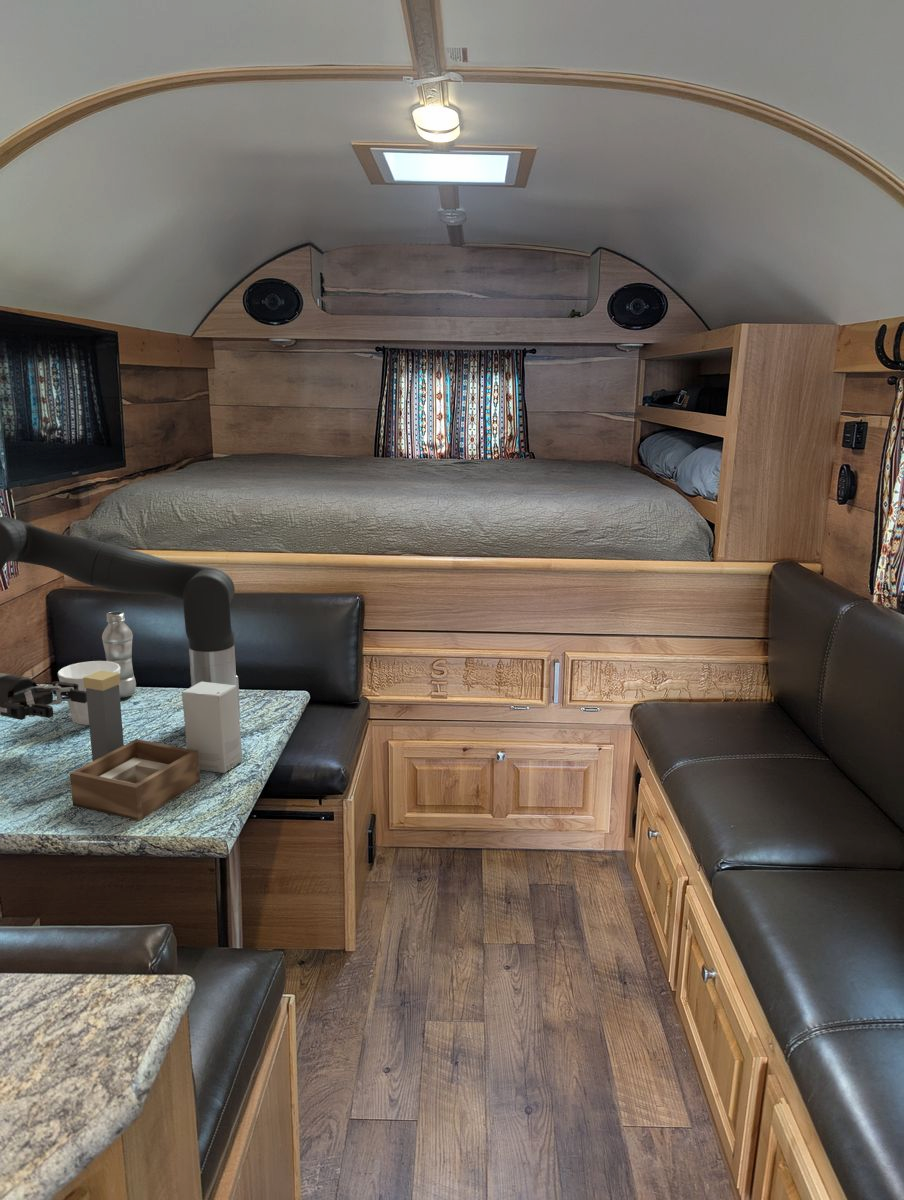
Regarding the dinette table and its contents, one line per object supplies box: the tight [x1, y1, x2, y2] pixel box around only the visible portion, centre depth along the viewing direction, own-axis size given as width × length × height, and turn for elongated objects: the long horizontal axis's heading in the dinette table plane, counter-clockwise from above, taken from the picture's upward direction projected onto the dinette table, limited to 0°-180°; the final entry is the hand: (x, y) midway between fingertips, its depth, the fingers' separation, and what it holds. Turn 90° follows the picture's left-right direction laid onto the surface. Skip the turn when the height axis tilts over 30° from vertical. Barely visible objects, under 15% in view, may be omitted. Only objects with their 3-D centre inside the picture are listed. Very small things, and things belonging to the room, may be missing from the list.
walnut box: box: [69, 739, 201, 822], centre depth 147 cm, size 16×14×6 cm
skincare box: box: [181, 682, 243, 774], centre depth 158 cm, size 8×7×16 cm
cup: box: [57, 660, 121, 726], centre depth 181 cm, size 12×12×11 cm
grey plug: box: [83, 670, 125, 762], centre depth 156 cm, size 4×4×18 cm
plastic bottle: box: [101, 611, 137, 699], centre depth 193 cm, size 6×7×20 cm
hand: (69, 704), depth 159 cm, fingers open, 8 cm apart
